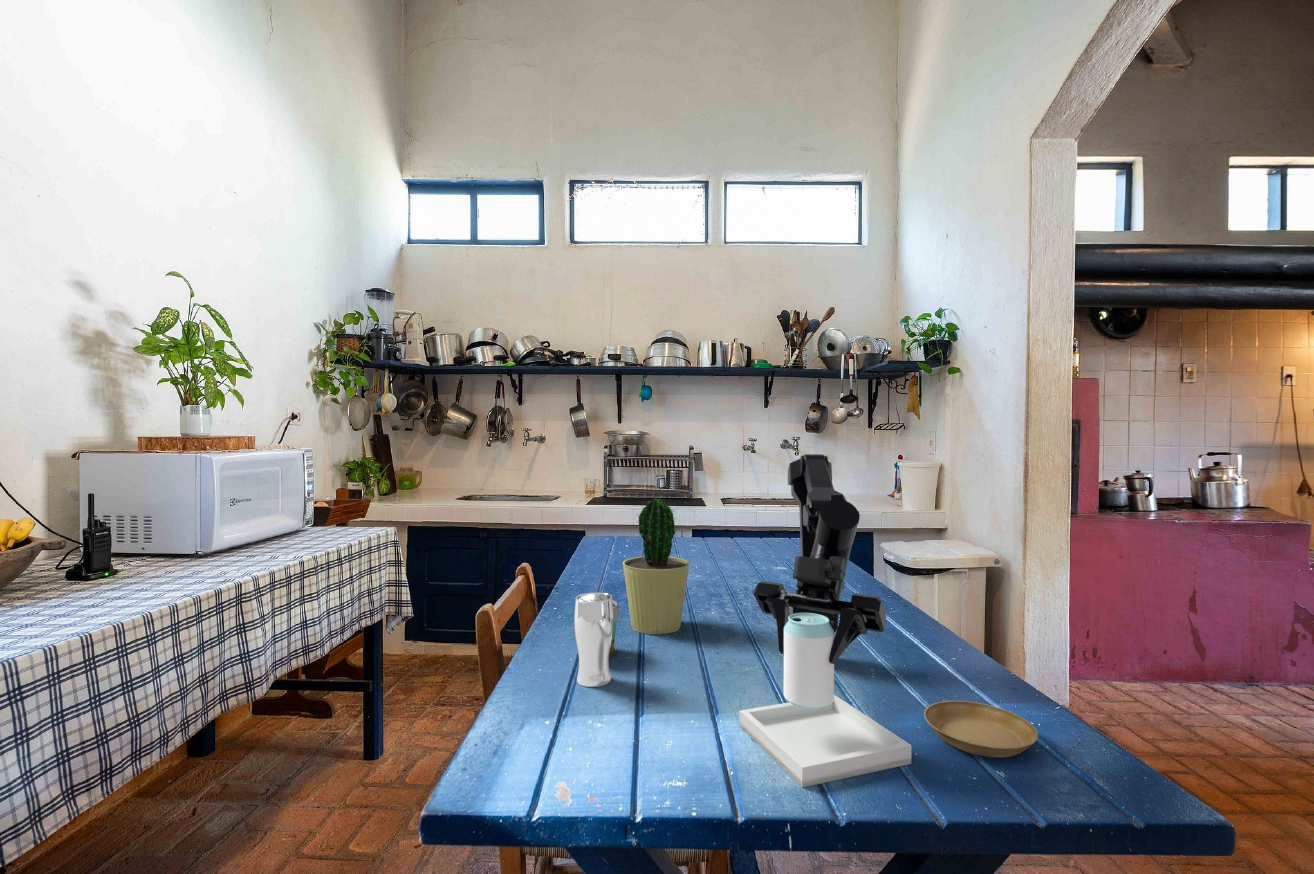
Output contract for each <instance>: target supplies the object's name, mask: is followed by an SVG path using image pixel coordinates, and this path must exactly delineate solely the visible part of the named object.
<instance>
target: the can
mask: <svg viewBox="0 0 1314 874" xmlns="http://www.w3.org/2000/svg"><path fill="white" fill-rule="evenodd" d="M788 619H789V621H788V622H787V623H786V625H785V626H784V653H783V696H784V698H785V699H786V700H787V701H788V703H789V702H790V703H791V704H793V705H794V706H797V707H799V708H803V709H809V710H817V709H823V708H825V707H827V706H828V705H830V704H831V703H833V701H834V695H835V663H834V664H831V663H830V653H831V648H832V645H833V642H834V638H835V632H834V630H833V629H832V627H831V625H830V624H829V622H830V620H829V619H828V618H827V617H825V616H823V615H819V614H814V613H795V614H792V615H790V616H789V617H788Z"/></svg>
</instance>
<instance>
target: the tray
mask: <svg viewBox="0 0 1314 874" xmlns="http://www.w3.org/2000/svg"><path fill="white" fill-rule="evenodd" d="M738 713H739V719H738V720H739V722H738V723H739V724H738V725H739V726H740V727H741V728H742V729H743V730H744V731H746V733H747V734H748V735H749V736H750V737H751V738H752V739H751V738H750V737H749V736H748V735H747V734H746V733H745V734H746V735H747V736H748V737H749V738H750V739H751V740H752V741H753V742H754V743H755V744H756V745H757V746H759V748H760V749H761V750H762V751H763V752H765V753H766V754H767V756H769V757H770V758H771V759H772V760H773V761H774V762H775V763H776V764H777V765H778V766H779V767H780V768H781V769H783V771H784V772H785V773H786V774H788V776H790V777H791V778H792V780H794V781H795V782H796V783H797V784H798V786H800V787H801V788H807V787H811V786H817V785H820V784H826V783H830V782H834V781H838V780H842V779H843V780H844V779H848V778H853V777H857V776H862V775H867V774H871V773H875V772H880V771H885V770H889V769H895V768H897V767H904V766H908V765H912V744H910V743H908V742H907V741H906V740H904V739H903V738H901V737H899V736H898V735H896V734H895V733H894V732H892V731H890V730H889V729H887V728H886V727H884V726H883V725H881V724H880V723H878V722H877V721H876V720H874V719H873V718H871V717H869V716H868V715H866V714H865V713H863V712H862V711H860V710H858V709H857V708H855V707H854V706H852V705H851V704H849V703H848V702H846V701H844V700H843V699H842V698H840V697H838V696H837V695H835V694H834V701H833V703H831V704H830V705H828V706H827V707H825V708H823V709H817V710H809V709H803V708H799V707H797V706H794V705H793V704H791V703H790V702H789V701H788V702H784V703H778V704H771V705H765V706H759V707H754V708H747V709H741V710H739V712H738ZM740 727H739V728H740ZM741 728H740V729H741ZM742 729H741V730H742ZM743 730H742V731H743ZM744 731H743V732H744Z"/></svg>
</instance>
